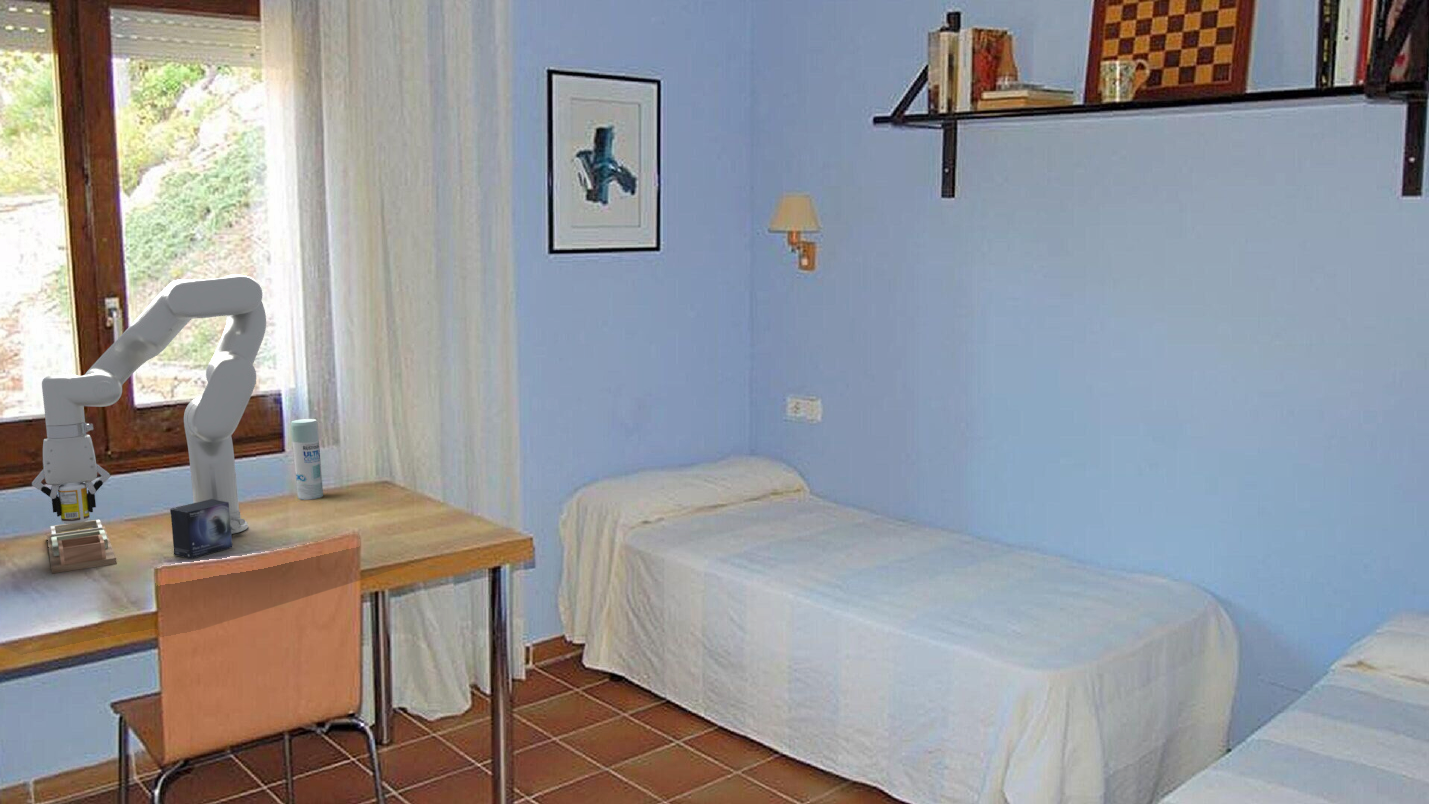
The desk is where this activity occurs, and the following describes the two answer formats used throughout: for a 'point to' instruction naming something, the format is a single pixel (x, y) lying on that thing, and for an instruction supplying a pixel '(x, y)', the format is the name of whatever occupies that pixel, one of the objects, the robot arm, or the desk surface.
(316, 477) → the spray paint can
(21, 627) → the desk surface
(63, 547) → the board
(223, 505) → the small box
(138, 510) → the desk surface
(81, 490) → the supplement bottle
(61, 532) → the plate
